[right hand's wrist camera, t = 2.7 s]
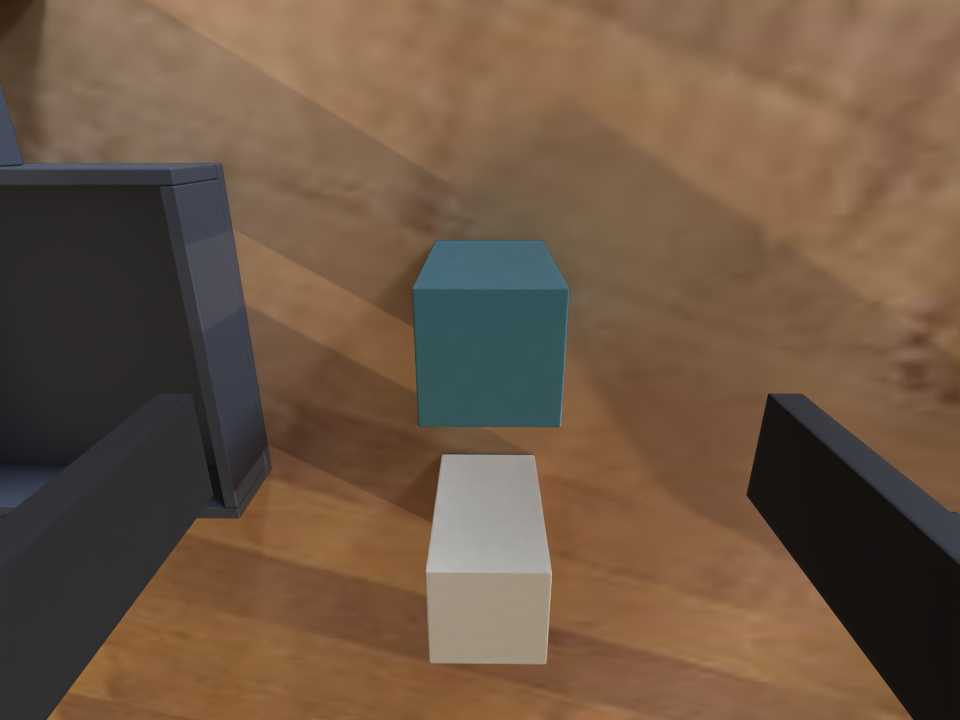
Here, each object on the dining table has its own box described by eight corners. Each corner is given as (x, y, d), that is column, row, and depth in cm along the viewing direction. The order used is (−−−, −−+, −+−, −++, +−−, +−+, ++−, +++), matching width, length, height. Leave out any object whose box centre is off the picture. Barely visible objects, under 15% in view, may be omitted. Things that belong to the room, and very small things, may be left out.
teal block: (435, 240, 25) (411, 287, 17) (543, 240, 25) (570, 288, 17) (438, 341, 26) (418, 427, 19) (539, 342, 26) (561, 428, 19)
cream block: (441, 453, 29) (425, 571, 21) (534, 454, 29) (552, 572, 21) (444, 529, 31) (429, 663, 23) (531, 530, 31) (546, 664, 23)
